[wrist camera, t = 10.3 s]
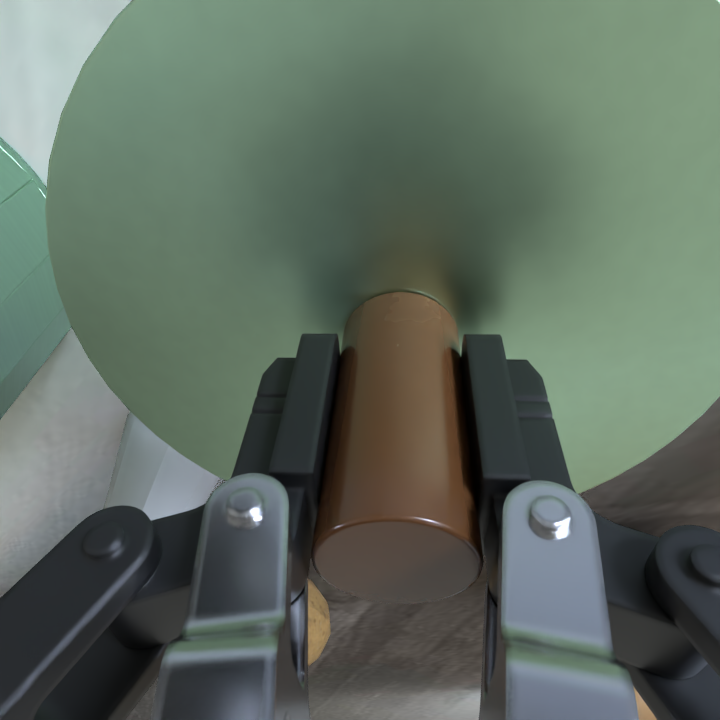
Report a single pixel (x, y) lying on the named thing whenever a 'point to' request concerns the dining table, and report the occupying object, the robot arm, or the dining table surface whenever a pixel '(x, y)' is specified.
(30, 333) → the pot
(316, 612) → the potato
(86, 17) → the dining table surface
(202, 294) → the pot lid
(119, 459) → the salt shaker
